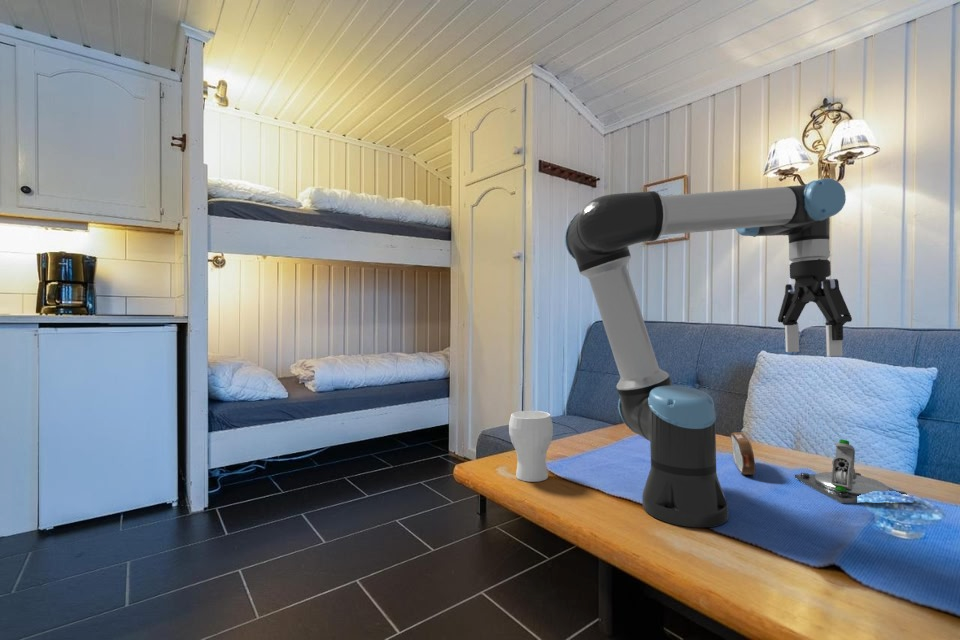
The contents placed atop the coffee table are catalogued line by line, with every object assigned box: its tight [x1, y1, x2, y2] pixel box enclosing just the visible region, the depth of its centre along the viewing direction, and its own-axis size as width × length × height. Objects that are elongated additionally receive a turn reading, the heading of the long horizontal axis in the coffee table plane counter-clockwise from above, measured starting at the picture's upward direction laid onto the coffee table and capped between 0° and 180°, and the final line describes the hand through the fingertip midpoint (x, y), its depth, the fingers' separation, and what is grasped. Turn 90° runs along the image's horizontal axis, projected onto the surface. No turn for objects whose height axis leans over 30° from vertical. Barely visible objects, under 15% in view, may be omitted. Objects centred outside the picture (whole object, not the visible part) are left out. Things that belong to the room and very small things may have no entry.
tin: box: [730, 431, 756, 476], centre depth 109 cm, size 15×3×8 cm, turn 159°
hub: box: [794, 471, 908, 504], centre depth 95 cm, size 14×14×2 cm
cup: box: [508, 410, 554, 483], centre depth 108 cm, size 11×11×15 cm
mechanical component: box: [831, 439, 857, 492], centre depth 93 cm, size 3×10×10 cm
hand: (812, 354), depth 101 cm, fingers open, 13 cm apart
